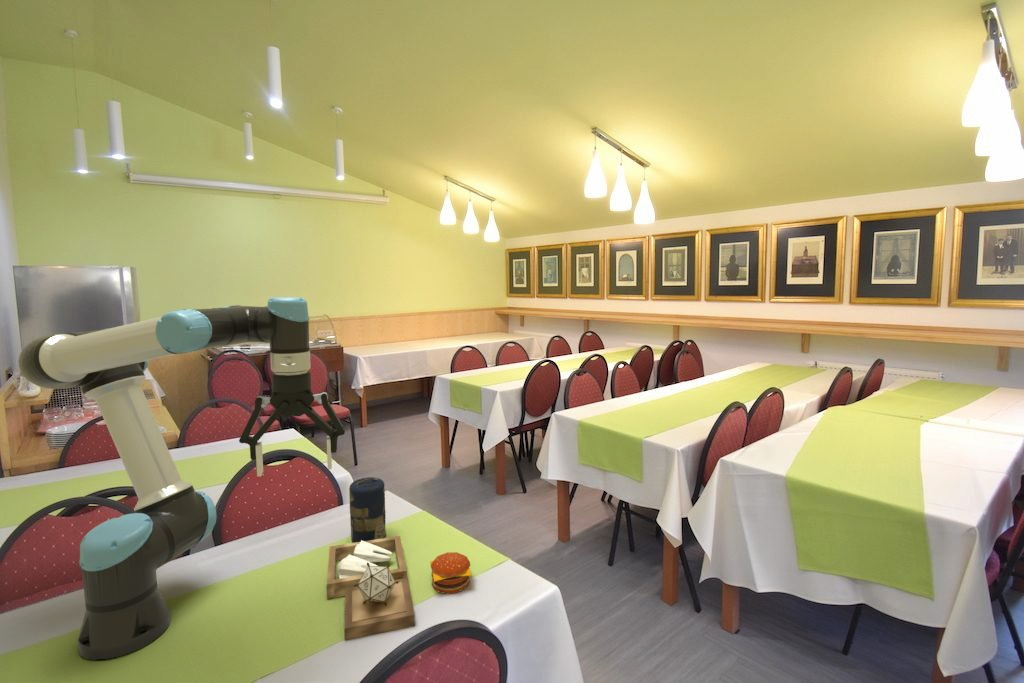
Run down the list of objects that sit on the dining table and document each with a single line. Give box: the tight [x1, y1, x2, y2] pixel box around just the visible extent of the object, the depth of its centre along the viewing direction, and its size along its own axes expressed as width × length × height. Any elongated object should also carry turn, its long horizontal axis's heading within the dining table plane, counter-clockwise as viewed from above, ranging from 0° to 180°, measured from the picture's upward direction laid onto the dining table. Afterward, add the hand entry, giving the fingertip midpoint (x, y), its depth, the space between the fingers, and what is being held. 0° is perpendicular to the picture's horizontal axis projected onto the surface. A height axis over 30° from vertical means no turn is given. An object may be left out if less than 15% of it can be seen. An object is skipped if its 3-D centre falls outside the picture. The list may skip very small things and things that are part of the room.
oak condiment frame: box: [326, 535, 408, 600], centre depth 126 cm, size 18×18×4 cm
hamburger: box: [429, 551, 472, 594], centre depth 121 cm, size 9×10×7 cm
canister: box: [348, 477, 387, 543], centre depth 140 cm, size 10×10×18 cm
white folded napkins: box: [336, 540, 394, 579], centre depth 126 cm, size 12×4×11 cm
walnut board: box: [343, 577, 416, 641], centre depth 110 cm, size 14×14×3 cm
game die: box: [353, 562, 399, 606], centre depth 110 cm, size 9×8×10 cm
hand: (295, 470), depth 107 cm, fingers open, 13 cm apart
